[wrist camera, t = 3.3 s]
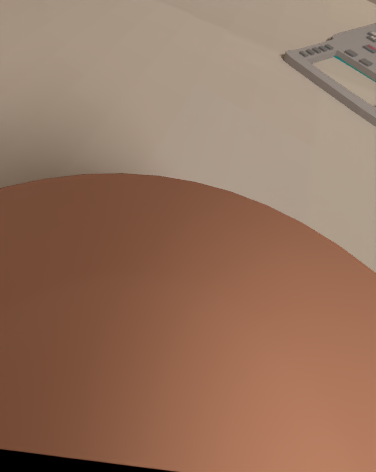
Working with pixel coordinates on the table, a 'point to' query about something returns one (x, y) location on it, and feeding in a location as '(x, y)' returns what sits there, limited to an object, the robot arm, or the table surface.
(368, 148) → the table surface
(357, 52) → the office telephone
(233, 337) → the faceted domed cylinder
